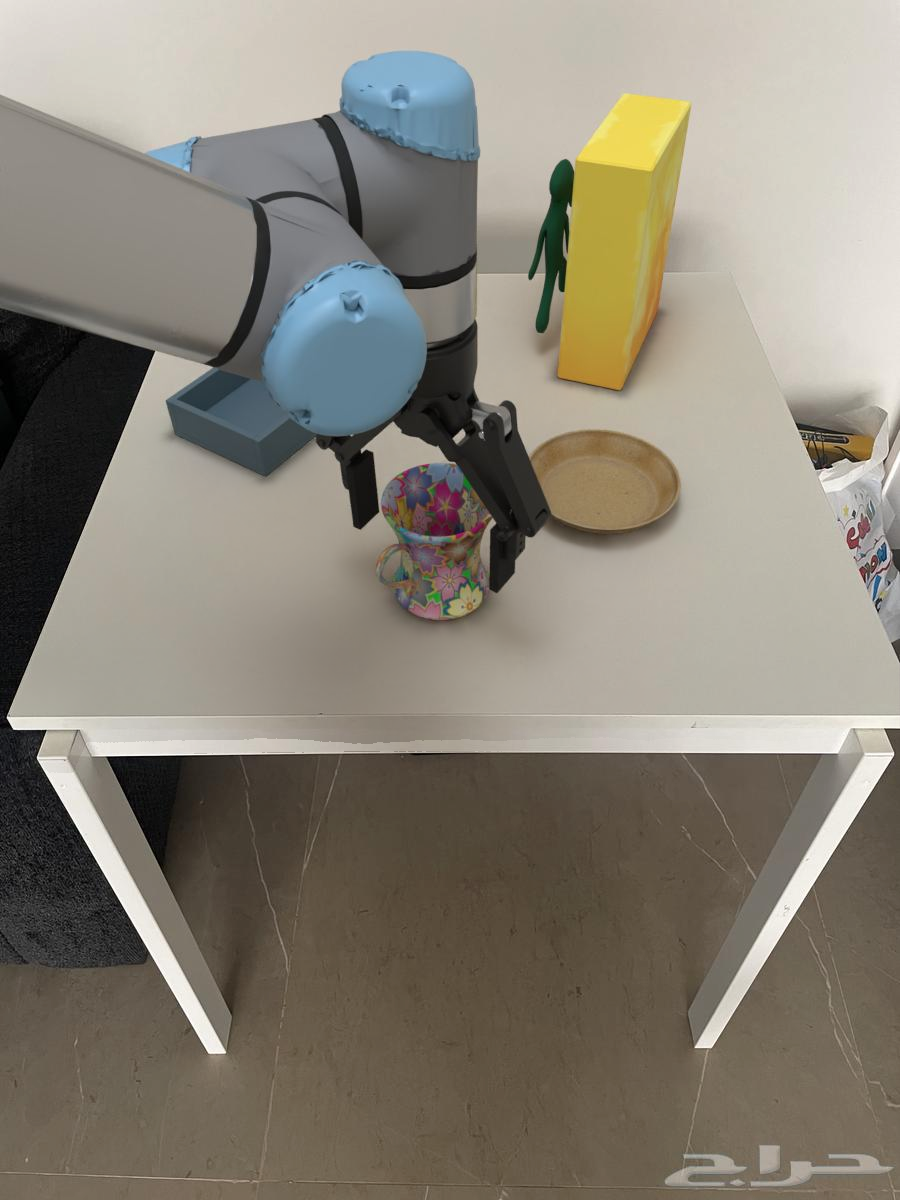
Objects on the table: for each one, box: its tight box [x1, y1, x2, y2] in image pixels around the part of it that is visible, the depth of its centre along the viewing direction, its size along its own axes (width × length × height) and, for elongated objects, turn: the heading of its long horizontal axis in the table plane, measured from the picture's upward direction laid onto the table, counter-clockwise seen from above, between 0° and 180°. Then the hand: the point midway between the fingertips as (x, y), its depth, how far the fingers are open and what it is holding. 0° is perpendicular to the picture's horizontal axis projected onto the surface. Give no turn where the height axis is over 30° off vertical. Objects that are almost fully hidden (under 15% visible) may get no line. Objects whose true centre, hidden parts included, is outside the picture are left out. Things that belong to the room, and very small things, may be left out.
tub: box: [165, 367, 318, 477], centre depth 99 cm, size 13×16×4 cm
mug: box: [374, 462, 493, 621], centre depth 79 cm, size 12×9×11 cm
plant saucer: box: [529, 428, 682, 535], centre depth 90 cm, size 15×15×3 cm
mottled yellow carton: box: [527, 92, 692, 391], centre depth 101 cm, size 18×12×24 cm
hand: (432, 549), depth 78 cm, fingers open, 13 cm apart
